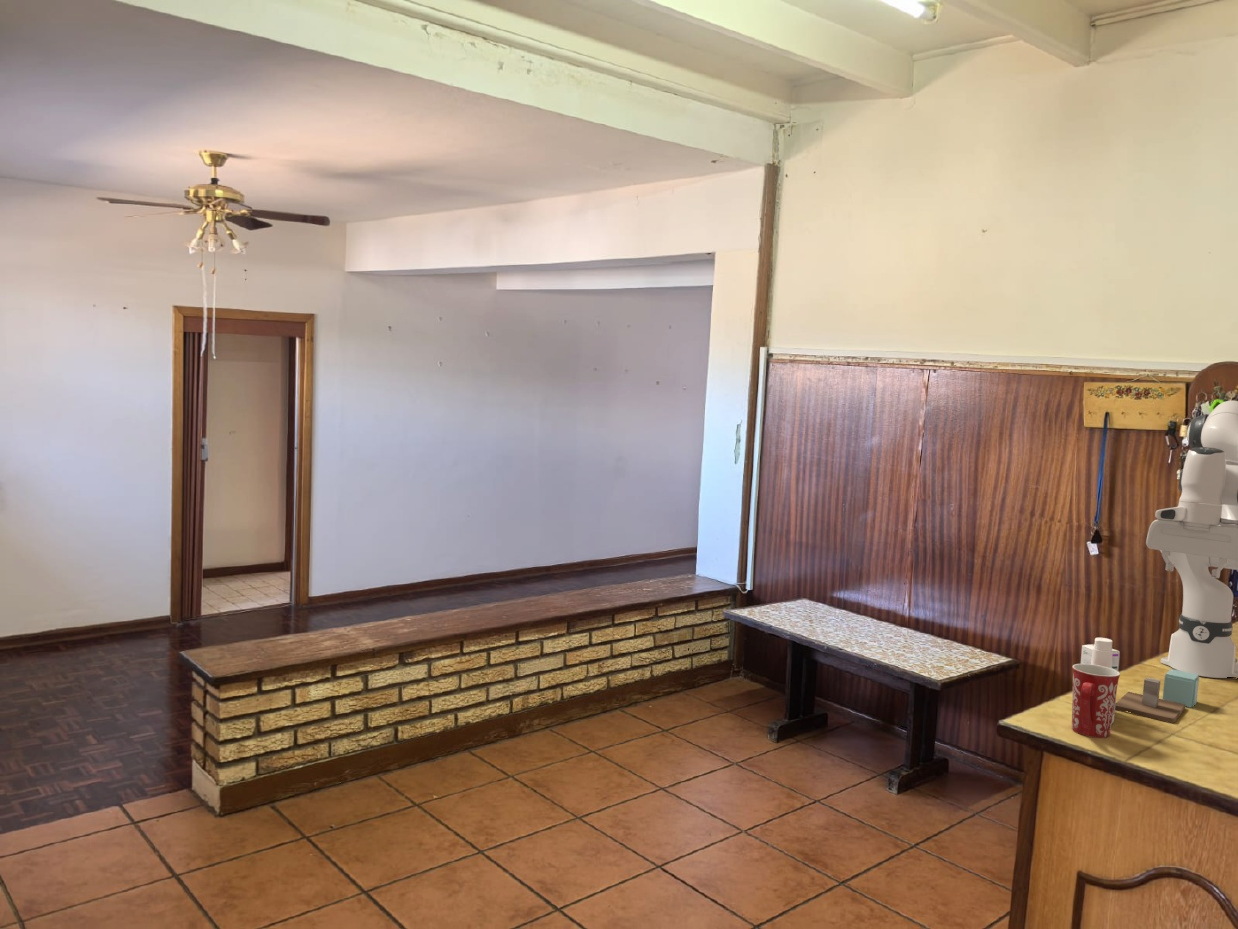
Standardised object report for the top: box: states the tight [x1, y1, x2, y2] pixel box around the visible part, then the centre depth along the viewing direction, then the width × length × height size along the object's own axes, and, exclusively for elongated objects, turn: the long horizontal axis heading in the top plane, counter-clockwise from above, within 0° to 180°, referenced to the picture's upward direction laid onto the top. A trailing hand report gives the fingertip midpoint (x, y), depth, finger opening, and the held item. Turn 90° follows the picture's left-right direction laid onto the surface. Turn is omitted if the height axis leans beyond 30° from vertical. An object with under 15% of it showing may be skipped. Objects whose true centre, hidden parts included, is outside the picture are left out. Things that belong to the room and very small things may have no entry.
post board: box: [1115, 677, 1186, 724], centre depth 219 cm, size 14×12×7 cm
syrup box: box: [1080, 643, 1121, 704], centre depth 216 cm, size 6×6×14 cm
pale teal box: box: [1162, 668, 1200, 709], centre depth 226 cm, size 6×6×7 cm
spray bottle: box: [1091, 637, 1118, 725], centre depth 209 cm, size 7×7×18 cm
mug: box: [1071, 663, 1121, 739], centre depth 200 cm, size 13×9×14 cm
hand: (1192, 574), depth 225 cm, fingers open, 8 cm apart
